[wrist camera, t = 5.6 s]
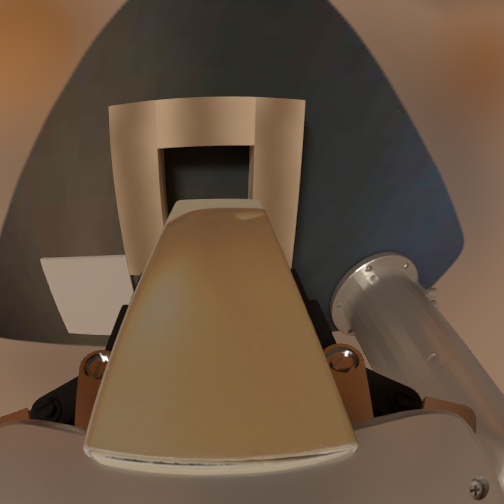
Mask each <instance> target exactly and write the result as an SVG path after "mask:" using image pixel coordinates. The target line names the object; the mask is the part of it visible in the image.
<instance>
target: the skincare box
mask: <svg viewBox="0 0 504 504" xmlns="http://www.w3.org/2000/svg"><path fill="white" fill-rule="evenodd" d="M357 448H358V442H357V440H356V437H355V434H354V431H353V428H352V425H351V422H350V420H349V417H348V414H347V412H346V409H345V407H344V404H343V402H342V399H341V397H340V394H339V391H338V389H337V386H336V383H335V380H334V378H333V375H332V373H331V370H330V367H329V365H328V362H327V360H326V357H325V354H324V352H323V349H322V346H321V343H320V341H319V339H318V336H317V334H316V332H315V329H314V326H313V323H312V321H311V319H310V317H309V315H308V312H307V309H306V306H305V304H304V302H303V299H302V297H301V294H300V292H299V290H298V287H297V285H296V282H295V280H294V278H293V275H292V273H291V270H290V268H289V266H288V263H287V261H286V258H285V256H284V253H283V251H282V249H281V246H280V244H279V242H278V239H277V237H276V235H275V232H274V230H273V228H272V226H271V223H270V221H269V218H268V216H267V214H266V211H265V209H264V206H263V204H262V202H261V201H260V200H255V199H196V200H179V201H177V202H176V203H175V205H174V207H173V209H172V211H171V213H170V215H169V217H168V219H167V221H166V223H165V225H164V227H163V230H162V232H161V234H160V236H159V238H158V240H157V242H156V244H155V246H154V249H153V251H152V253H151V255H150V257H149V259H148V262H147V264H146V266H145V268H144V271H143V273H142V275H141V278H140V280H139V282H138V285H137V287H136V289H135V292H134V294H133V296H132V299H131V301H130V304H129V306H128V309H127V311H126V314H125V317H124V319H123V322H122V324H121V327H120V330H119V332H118V335H117V338H116V341H115V343H114V346H113V349H112V352H111V354H110V357H109V360H108V363H107V366H106V369H105V372H104V375H103V378H102V381H101V384H100V387H99V390H98V393H97V397H96V400H95V403H94V407H93V410H92V414H91V417H90V421H89V424H88V428H87V432H86V436H85V439H84V445H83V450H84V452H85V453H86V454H87V456H89V457H93V458H94V459H95V460H97V461H98V462H99V463H101V464H104V465H107V466H112V467H118V468H124V469H130V470H137V471H145V472H154V473H167V474H192V475H213V474H241V473H256V472H267V471H277V470H284V469H290V468H295V467H300V466H305V465H310V464H315V463H319V462H323V461H326V460H329V459H333V458H336V457H339V456H342V455H344V454H347V453H349V452H355V450H356V449H357Z"/></svg>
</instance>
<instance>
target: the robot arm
mask: <svg viewBox="0 0 504 504" xmlns="http://www.w3.org/2000/svg"><path fill="white" fill-rule="evenodd" d="M290 270H291V273H292V275H293V278H294V280H295V282H296V285H297V287H298V290H299V292H300V294H301V297H302V299H303V302H304V304H305V306H306V309H307V312H308V315H309V317H310V319H311V321H312V323H313V326H314V329H315V332H316V334H317V336H318V339H319V341H320V343H321V346H322V349H323V352H324V354H325V357H326V360H327V362H328V365H329V367H330V370H331V373H332V375H333V378H334V380H335V383H336V386H337V389H338V391H339V394H340V397H341V399H342V402H343V404H344V407H345V409H346V412H347V414H348V417H349V420H350V422H351V425H352V428H353V431H354V434H355V437H356V440H357V442H358V448H357V449H356V450H355V452H349V453H347V454H344V455H342V456H339V457H336V458H333V459H329V460H326V461H323V462H319V463H315V464H310V465H305V466H300V467H295V468H290V469H284V470H277V471H267V472H256V473H241V474H213V475H192V474H167V473H154V472H145V471H137V470H130V469H124V468H118V467H112V466H107V465H104V464H101V463H99V462H98V461H97V460H95V459H94V458H93V457H89V456H87V454H86V453H85V452H84V450H83V445H84V439H85V436H86V432H87V428H88V424H89V421H90V417H91V414H92V410H93V407H94V403H95V400H96V397H97V393H98V390H99V387H100V384H101V381H102V378H103V375H104V372H105V369H106V366H107V363H108V360H109V357H110V354H111V352H112V349H113V346H114V343H115V341H116V338H117V335H118V332H119V330H120V327H121V324H122V322H123V319H124V317H125V314H126V311H127V309H128V306H129V305H122V307H121V309H120V312H119V314H118V317H117V319H116V322H115V325H114V327H113V330H112V333H111V335H110V338H109V341H108V343H107V346H106V349H105V350H98V351H94V352H92V353H90V354H88V355H87V356H86V357H84V359H83V360H82V362H81V364H80V367H79V375H78V377H76V378H74V379H72V380H71V381H69V382H67V383H65V384H64V385H62V386H60V387H58V388H57V389H55V390H53V391H51V392H49V393H48V394H46V395H44V396H42V397H41V398H39V399H38V400H37V401H36V402H35V403H34V404H33V406H32V409H31V410H28V408H25V409H23V410H19V411H17V412H14V413H11V414H9V415H5V416H2V417H0V504H504V394H503V393H502V392H501V391H500V389H499V388H498V387H497V385H496V384H495V383H494V381H493V380H492V379H491V377H490V376H489V375H488V373H487V372H486V371H485V369H484V368H483V367H482V365H481V364H480V363H479V361H478V360H477V358H476V357H475V356H474V354H473V353H472V352H471V350H470V349H469V348H468V346H467V345H466V344H465V343H464V341H463V340H462V339H461V338H460V336H459V335H458V334H457V332H456V331H455V330H454V329H453V327H452V326H451V325H450V324H449V323H448V321H447V320H446V319H445V318H444V317H443V315H442V314H441V313H440V312H439V311H438V303H437V301H435V300H431V301H430V300H429V299H432V298H436V297H437V294H438V292H437V289H436V288H430V289H426V290H425V289H424V288H423V287H422V286H421V285H420V284H419V282H418V272H417V270H416V267H415V265H414V264H413V263H412V262H411V261H410V260H409V259H408V258H407V257H406V256H404V255H402V254H400V253H396V252H383V253H379V254H375V255H373V256H370V257H368V258H366V259H364V260H362V261H361V262H359V263H358V264H356V265H355V266H354V267H353V268H351V269H350V270H349V271H348V272H347V273H346V274H345V275H344V277H343V278H342V279H341V280H340V282H339V283H338V285H337V286H336V288H335V290H334V292H333V294H332V298H331V301H330V315H331V318H332V320H333V322H334V324H335V326H336V327H337V329H339V330H340V331H341V332H343V333H345V334H347V335H351V336H355V337H356V339H357V340H358V342H359V344H360V346H361V348H362V350H363V352H364V354H365V356H366V358H367V359H368V361H369V363H370V365H371V367H372V369H373V371H372V370H370V369H367V368H365V364H364V359H363V357H362V354H361V353H360V352H359V351H358V350H357V349H355V348H354V347H352V346H349V345H346V344H336V341H335V339H334V337H333V334H332V332H331V330H330V328H329V325H328V323H327V321H326V319H325V316H324V314H323V312H322V310H321V308H320V305H319V303H318V302H317V300H308V298H307V295H306V293H305V290H304V288H303V286H302V283H301V281H300V279H299V276H298V274H297V272H296V270H295V269H290ZM142 273H143V272H142ZM142 273H141V275H142ZM141 275H140V277H139V280H140V278H141ZM139 280H138V282H139ZM138 282H137V285H138ZM137 285H136V287H137ZM136 287H135V289H136ZM134 292H135V290H134ZM134 292H133V294H134ZM132 296H133V295H132ZM131 299H132V298H131ZM130 301H131V300H130ZM129 304H130V303H129Z"/></svg>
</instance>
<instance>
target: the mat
mask: <svg viewBox="0 0 504 504" xmlns="http://www.w3.org/2000/svg"><path fill="white" fill-rule="evenodd" d="M40 261H41V264H42V267H43V270H44V273H45V276H46V279H47V282H48V284H49V287H50V290H51V292H52V295H53V297H54V300H55V302H56V305H57V307H58V310H59V312H60V314H61V317H62V319H63V321H64V323H65V326H66V328H67V330H68V332H69V333H77V334H95V335H111V333H112V330H113V327H114V325H115V322H116V319H117V317H118V314H119V312H120V309H121V307H122V305H129V303H130V300H131V298H132V295H133V292H134V287H133V282H132V278H131V275H130V273H129V268H128V263H127V258H126V255H108V256H83V257H58V258H41V260H40Z"/></svg>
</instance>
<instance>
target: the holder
mask: <svg viewBox="0 0 504 504" xmlns="http://www.w3.org/2000/svg"><path fill="white" fill-rule="evenodd" d="M304 114H305V100H295V99H281V98H264V97H195V98H177V99H164V100H154V101H144V102H136V103H128V104H121V105H115V106H109V125H110V142H111V155H112V166H113V175H114V184H115V192H116V200H117V207H118V213H119V220H120V226H121V232H122V238H123V243H124V248H125V253H126V258H127V263H128V268H129V273H130V275H141V273H142V272H143V271H144V268H145V266H146V264H147V262H148V259H149V257H150V255H151V253H152V251H153V249H154V246H155V244H156V242H157V240H158V238H159V236H160V234H161V232H162V230H163V227H164V225H165V223H166V221H167V219H168V206H167V194H166V179H165V163H164V148H173V147H191V146H221V145H250V148H249V186H248V199H255V200H260V201H261V202H262V204H263V206H264V209H265V211H266V214H267V216H268V218H269V221H270V223H271V226H272V228H273V230H274V232H275V235H276V237H277V239H278V242H279V244H280V246H281V249H282V251H283V253H284V256H285V258H286V261H287V263H288V266H289V268H290V269H291V266H292V257H293V248H294V239H295V229H296V219H297V208H298V197H299V185H300V173H301V160H302V146H303V131H304Z"/></svg>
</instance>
